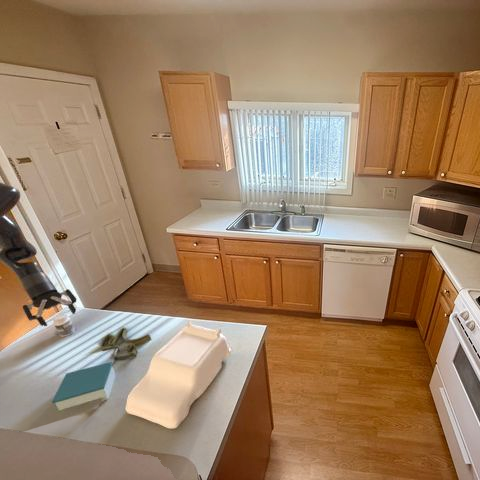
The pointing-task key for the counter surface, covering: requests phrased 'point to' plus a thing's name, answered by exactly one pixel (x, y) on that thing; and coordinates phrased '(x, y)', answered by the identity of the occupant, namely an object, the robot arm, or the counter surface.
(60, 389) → the teal book
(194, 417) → the counter surface
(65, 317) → the pill bottle
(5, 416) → the counter surface
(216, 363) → the white toy car
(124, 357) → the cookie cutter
